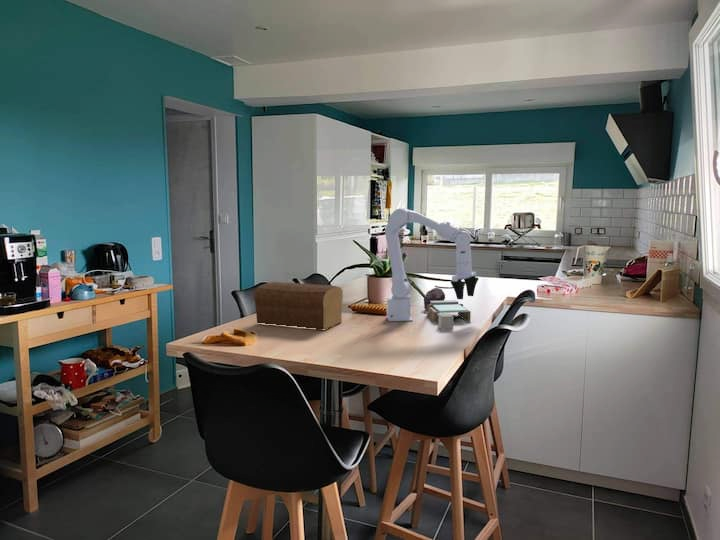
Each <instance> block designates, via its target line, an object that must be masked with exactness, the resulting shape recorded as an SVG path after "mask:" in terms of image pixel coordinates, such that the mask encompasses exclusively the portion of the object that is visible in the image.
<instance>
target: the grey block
mask: <svg viewBox="0 0 720 540" xmlns="http://www.w3.org/2000/svg"><path fill="white" fill-rule="evenodd" d="M437 323H438V328H439V329H440V330H441V329H447V330H454V315H453V314H451V313H438V322H437Z"/></svg>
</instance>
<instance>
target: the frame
mask: <svg viewBox="0 0 720 540" xmlns="http://www.w3.org/2000/svg"><path fill="white" fill-rule="evenodd" d="M458 304H459V305H461V306H462V307H464V308H465V309H466V310H467V312H457V315H458V314H459V315H458V316H460V317H461V318H462V317H463V318H464V319H463V318H462V319H463V320H465V321H466V322H467V321H470V322H471V317H472V316H471V313H472V312H471V310H469V309H468V308H466V307H465V306H464V304H463V303H458ZM452 305H453V304H452ZM432 306H433V305H428V306H427V309H426V314H427V317H428V318H429V319H430V320H431V321H432V322H433V323H435V322H436V323H438V322H439V312H438V311H437V310H436V309H433V308H432Z"/></svg>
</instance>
